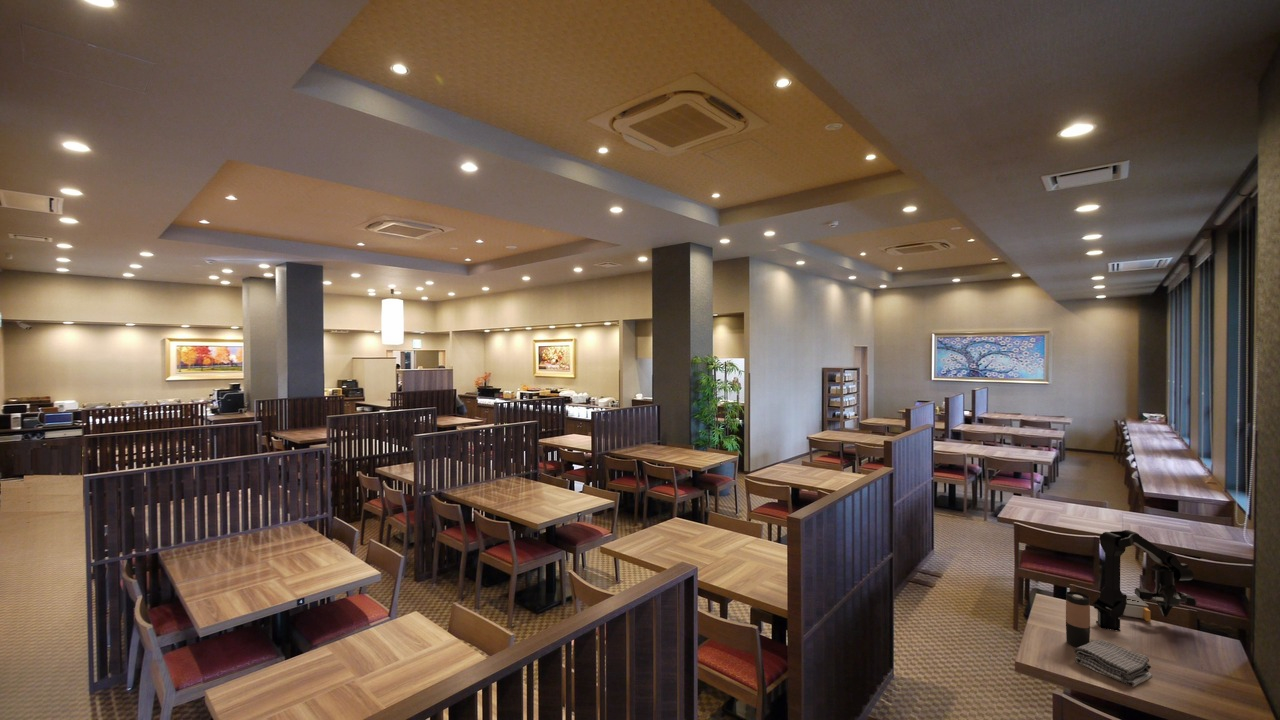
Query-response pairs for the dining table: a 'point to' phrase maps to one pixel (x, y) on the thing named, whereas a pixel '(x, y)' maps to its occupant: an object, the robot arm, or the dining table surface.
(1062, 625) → the dining table surface
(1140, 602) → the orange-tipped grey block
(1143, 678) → the towel
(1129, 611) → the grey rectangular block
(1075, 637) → the travel mug
